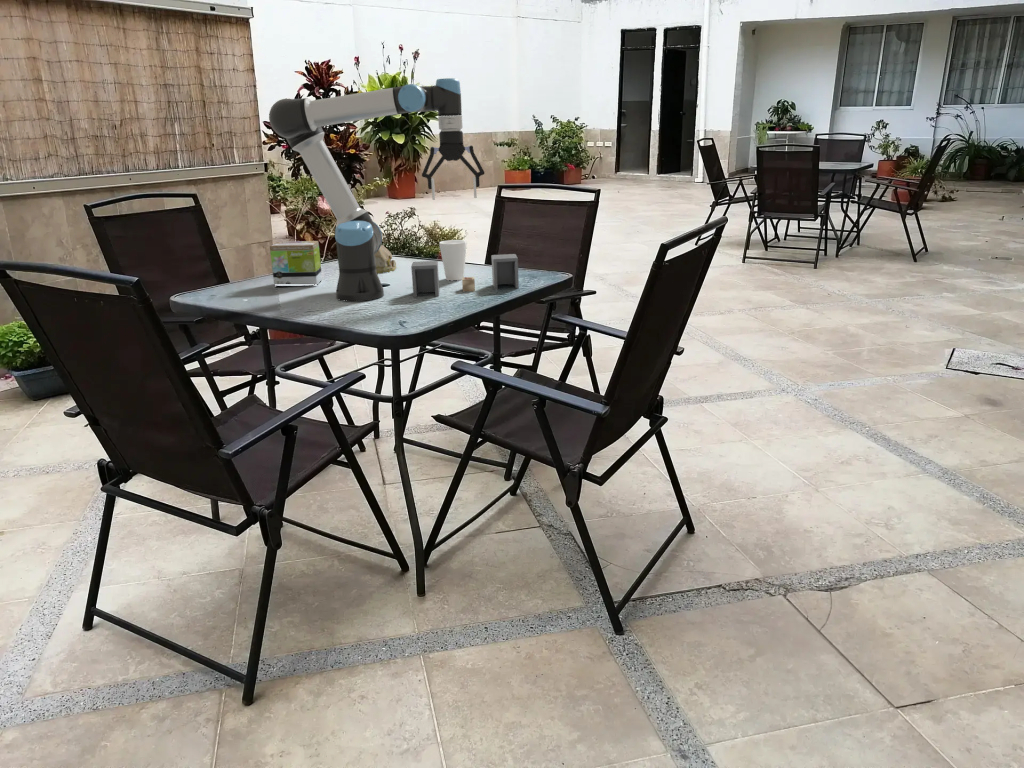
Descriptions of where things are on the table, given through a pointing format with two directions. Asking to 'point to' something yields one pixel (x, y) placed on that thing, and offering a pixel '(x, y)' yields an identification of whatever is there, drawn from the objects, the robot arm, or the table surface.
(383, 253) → the ceramic model
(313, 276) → the tea box
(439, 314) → the table surface
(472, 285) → the letter cube
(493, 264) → the far cover
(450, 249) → the foam cup
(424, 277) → the near cover
